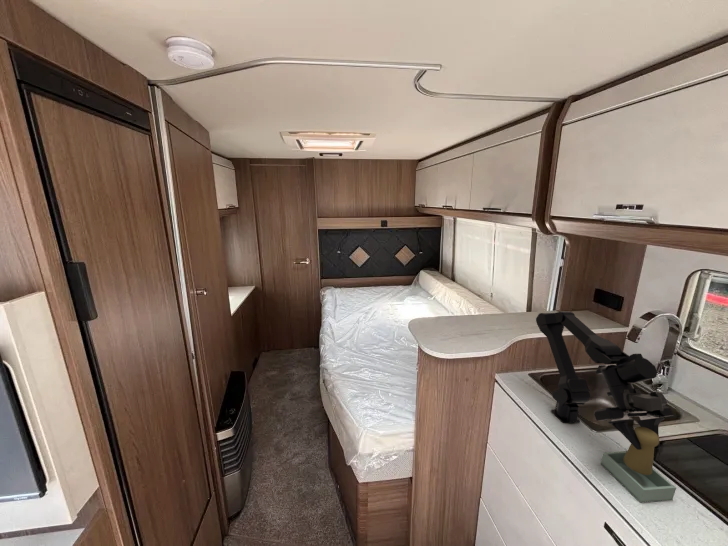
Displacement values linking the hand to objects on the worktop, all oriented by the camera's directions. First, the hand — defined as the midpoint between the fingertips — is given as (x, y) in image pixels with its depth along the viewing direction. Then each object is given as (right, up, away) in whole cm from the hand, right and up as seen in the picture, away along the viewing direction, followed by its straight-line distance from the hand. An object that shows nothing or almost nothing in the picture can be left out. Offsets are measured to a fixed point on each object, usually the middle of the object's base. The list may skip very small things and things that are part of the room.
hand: (648, 449), depth 81 cm
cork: (0, -6, +3) cm, 7 cm away
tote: (0, -11, +4) cm, 12 cm away
